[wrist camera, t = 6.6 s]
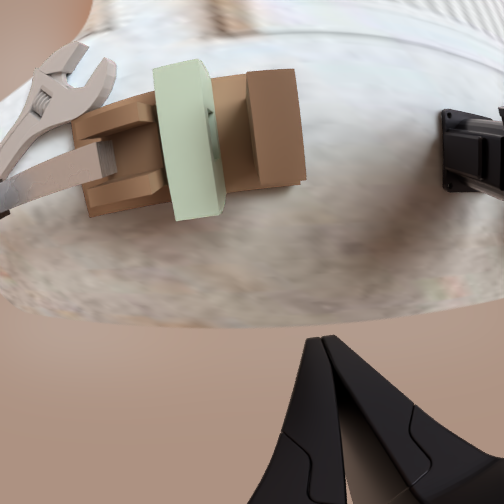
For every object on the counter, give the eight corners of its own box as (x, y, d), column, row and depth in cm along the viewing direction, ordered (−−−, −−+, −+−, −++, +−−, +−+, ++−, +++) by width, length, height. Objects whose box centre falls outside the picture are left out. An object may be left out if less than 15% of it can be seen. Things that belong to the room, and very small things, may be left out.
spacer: (210, 75, 13) (197, 54, 9) (226, 196, 16) (220, 219, 12) (176, 82, 13) (151, 65, 9) (193, 201, 16) (176, 225, 12)
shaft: (112, 132, 11) (30, 140, 6) (120, 179, 12) (45, 217, 6) (-13, 186, 11) (-75, 216, 6) (-5, 219, 12) (-64, 257, 7)
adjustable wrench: (-28, 240, 18) (-38, 247, 17) (-46, 193, 16) (-56, 198, 14) (125, 92, 15) (113, 89, 13) (98, 28, 12) (87, 21, 10)
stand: (285, 74, 14) (316, 31, 7) (296, 181, 17) (335, 218, 10) (79, 119, 15) (-1, 124, 7) (97, 212, 18) (29, 260, 10)
